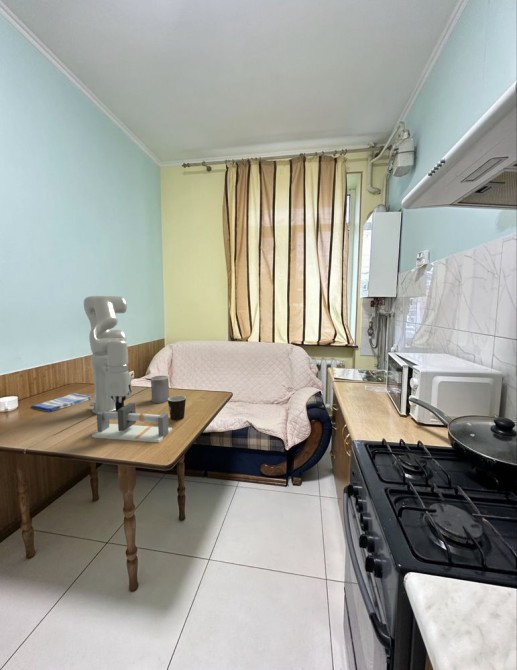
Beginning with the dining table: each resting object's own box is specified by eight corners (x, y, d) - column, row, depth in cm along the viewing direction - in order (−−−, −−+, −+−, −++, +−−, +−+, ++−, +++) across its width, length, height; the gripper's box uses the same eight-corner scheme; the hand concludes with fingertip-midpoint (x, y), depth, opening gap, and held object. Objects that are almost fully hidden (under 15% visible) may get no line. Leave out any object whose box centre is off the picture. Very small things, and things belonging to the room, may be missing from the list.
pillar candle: (160, 396, 177) (159, 372, 175) (172, 399, 173) (171, 374, 171) (148, 401, 168) (146, 376, 167) (160, 404, 164) (159, 378, 162)
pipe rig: (92, 437, 123) (90, 416, 122) (110, 425, 135) (109, 406, 134) (159, 442, 119) (158, 420, 118) (171, 429, 131) (171, 410, 130)
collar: (118, 430, 123) (117, 409, 122) (130, 422, 131) (129, 402, 130) (123, 431, 122) (123, 410, 121) (135, 422, 131) (135, 403, 130)
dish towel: (92, 400, 172) (92, 395, 172) (50, 413, 151) (50, 408, 150) (73, 396, 179) (72, 391, 179) (30, 408, 158) (29, 403, 157)
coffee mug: (170, 415, 148) (169, 395, 147) (187, 414, 149) (187, 395, 148) (165, 424, 137) (164, 403, 136) (183, 423, 137) (183, 403, 136)
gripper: (95, 370, 122) (98, 412, 124) (129, 371, 120) (130, 414, 122) (107, 366, 129) (109, 406, 131) (139, 367, 127) (140, 408, 129)
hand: (119, 410), depth 126 cm, fingers closed
